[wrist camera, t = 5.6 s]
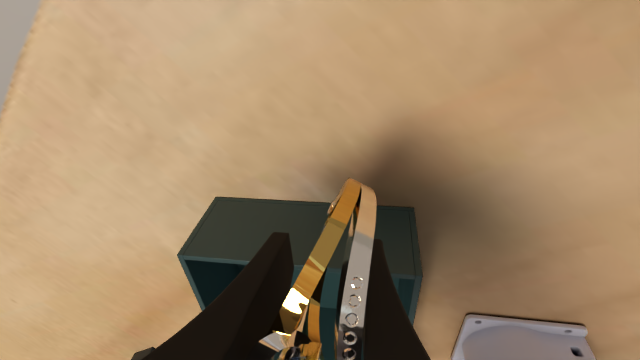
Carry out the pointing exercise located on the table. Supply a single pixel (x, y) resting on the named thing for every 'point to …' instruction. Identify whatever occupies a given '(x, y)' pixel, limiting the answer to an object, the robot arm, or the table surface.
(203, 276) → the carton
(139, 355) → the watch
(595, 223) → the table surface
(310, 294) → the ring
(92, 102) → the table surface
